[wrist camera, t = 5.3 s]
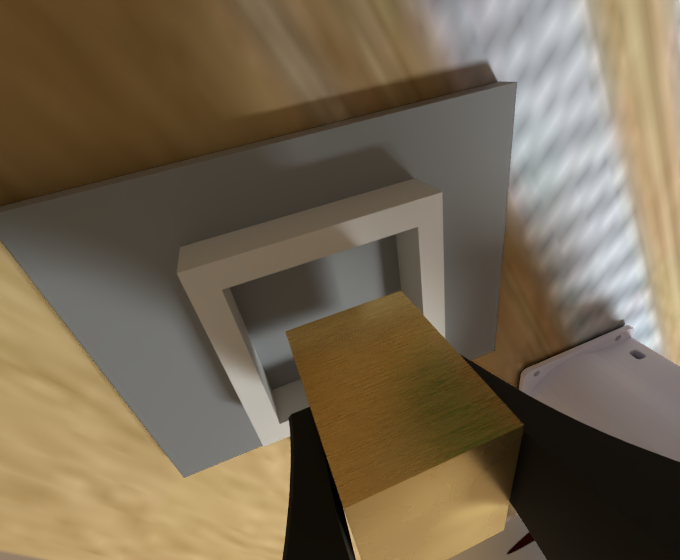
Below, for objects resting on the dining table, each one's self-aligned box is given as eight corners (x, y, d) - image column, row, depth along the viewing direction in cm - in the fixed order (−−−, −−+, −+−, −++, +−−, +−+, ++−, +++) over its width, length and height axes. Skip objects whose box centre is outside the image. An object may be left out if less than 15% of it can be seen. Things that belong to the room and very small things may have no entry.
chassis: (498, 81, 14) (561, 82, 12) (483, 339, 22) (519, 373, 19) (-1, 206, 11) (-60, 244, 8) (184, 460, 18) (182, 519, 16)
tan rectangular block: (400, 290, 12) (524, 425, 7) (409, 388, 15) (503, 530, 10) (285, 331, 11) (343, 509, 7) (317, 426, 14) (374, 597, 9)
